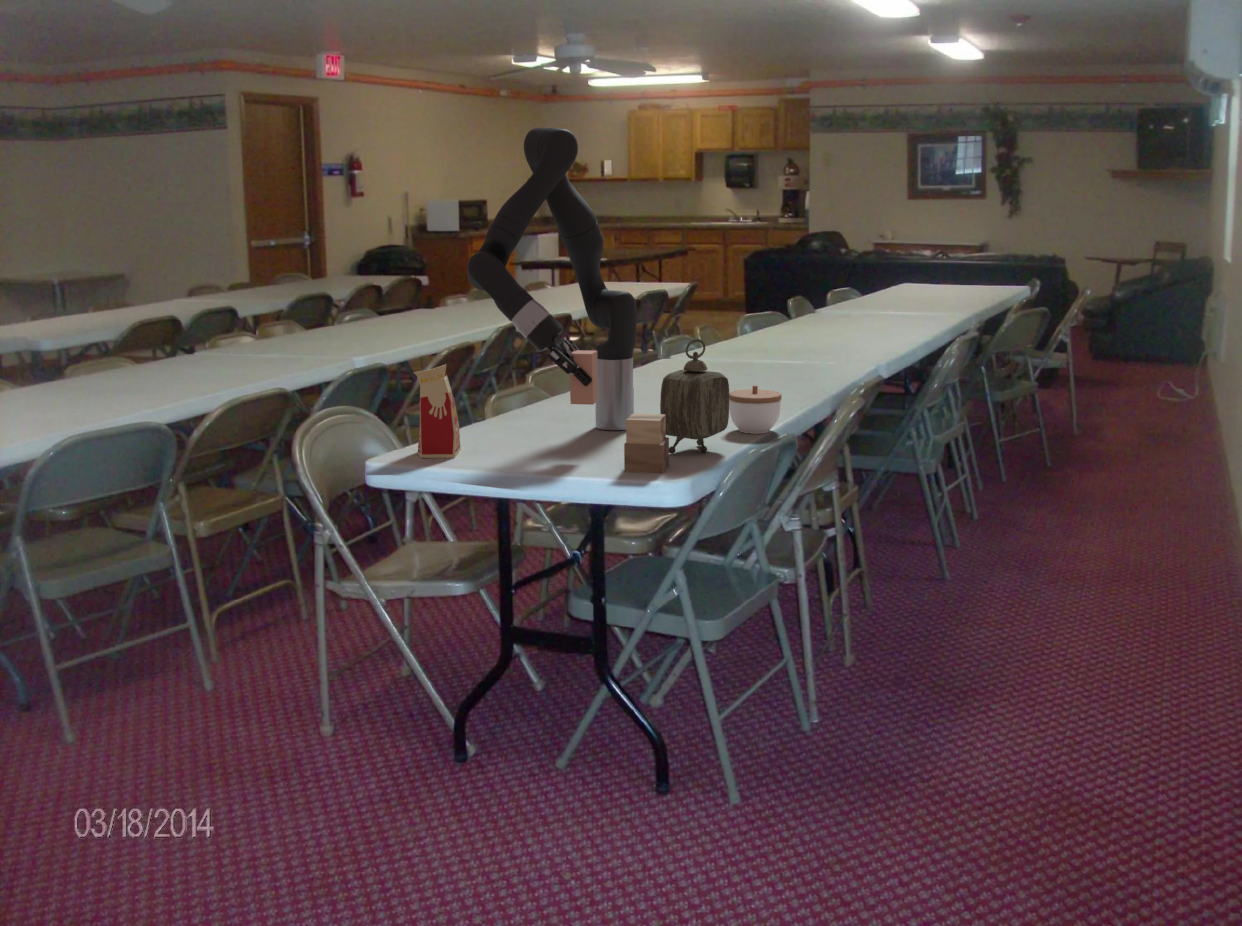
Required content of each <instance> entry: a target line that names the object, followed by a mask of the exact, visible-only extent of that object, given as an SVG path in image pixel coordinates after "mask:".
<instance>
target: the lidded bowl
mask: <svg viewBox="0 0 1242 926" xmlns="http://www.w3.org/2000/svg"><path fill="white" fill-rule="evenodd" d="M758 388H759V387H758V385H757V384H756V385H755V384H754V385H752V389H738V390H733V391H729V417H730V418H731V421H732V424H733V425H734V426H735V427H736V428H737V429H738V430H739V433H742V432H743V433H742V434H748V433H750V435H751V434H752V435H758V434H768V433H769V432H770V430H771V429H772V428H773V427H774V426H775V425H776V423H777V422H778V420H779V417H780V413H781V406H782V405H781V403H782V393H781V392H779V391H775V390H772V389H771V390H769V389H758Z"/></svg>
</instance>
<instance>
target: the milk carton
mask: <svg viewBox="0 0 1242 926" xmlns="http://www.w3.org/2000/svg"><path fill="white" fill-rule="evenodd" d="M413 374H414V375H415V376H416V377H417V382H418V384H419V428H418V429H419V431H418V444H417V455H418V456H419V457H420V458H421V459H432V458H433V459H440V458H441V459H454V458H456V457H457V456H458V455H459V453H460V451H461V450H462V447H461V434H460V423H459V419H458V418H459V417H458V413H457V408H456V402H455V398H454V395H453V392H452V388H451V385H450V381H449V378H448V375H447V363H445V364H443V365H440V366H437V367H434V368H431V369H426V370H425V369H424V370H419V371H413Z"/></svg>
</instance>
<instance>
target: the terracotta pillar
mask: <svg viewBox="0 0 1242 926" xmlns="http://www.w3.org/2000/svg"><path fill="white" fill-rule="evenodd" d="M572 355H573V356H574V357H575V359H574V360H575V361H576V362H577V363H578V364H579V365H580V368H582V369H583V370H584V371H585V372H586V373H587V374H588V375H589V376H590V377H591V378H592V382H591V383H590V384H589V385H588V386H584V385H583V384H582V383H581V382H580V381H579V380H578V379H577V378H576V377H575V376H574V374H573V375H571V374H570V373H569V391H570V395H569V397H570V405H590V406H591V405H594V404H596V402H597V401H598V364H597V351H595V350H590V349H589V350H583V349H582V350H577V351H573V352H572ZM580 368H579V369H580Z"/></svg>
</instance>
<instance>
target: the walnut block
mask: <svg viewBox="0 0 1242 926" xmlns="http://www.w3.org/2000/svg"><path fill="white" fill-rule="evenodd" d="M623 444H624V445H623V448H624V449H623V454H624V455H623V456H624V458H623V461H624V465H623V466H624V467H623V468H624V469H623V471H628V472H627V473H642V472H644V473H645V474H646V473H647V474H663V473H665V471H666V470H667V468H668V467H667V466H670V453H669V447H670V437H669V436H668V437H667V436H666V438H665V439H664V440H663V442H662V443H661V444H660V445H654V444H626V442H625V443H623ZM644 473H643V474H644Z"/></svg>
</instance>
